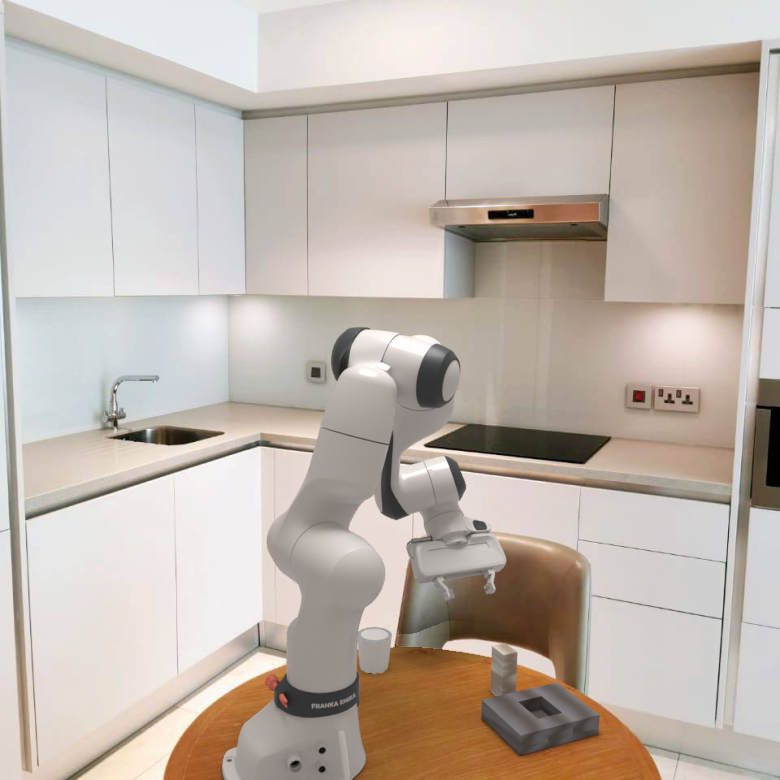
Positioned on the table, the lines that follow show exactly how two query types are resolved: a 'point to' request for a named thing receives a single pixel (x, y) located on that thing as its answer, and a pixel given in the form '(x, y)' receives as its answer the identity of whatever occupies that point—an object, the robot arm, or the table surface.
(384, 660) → the white cup
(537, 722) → the slot holder
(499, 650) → the peg
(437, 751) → the table surface
